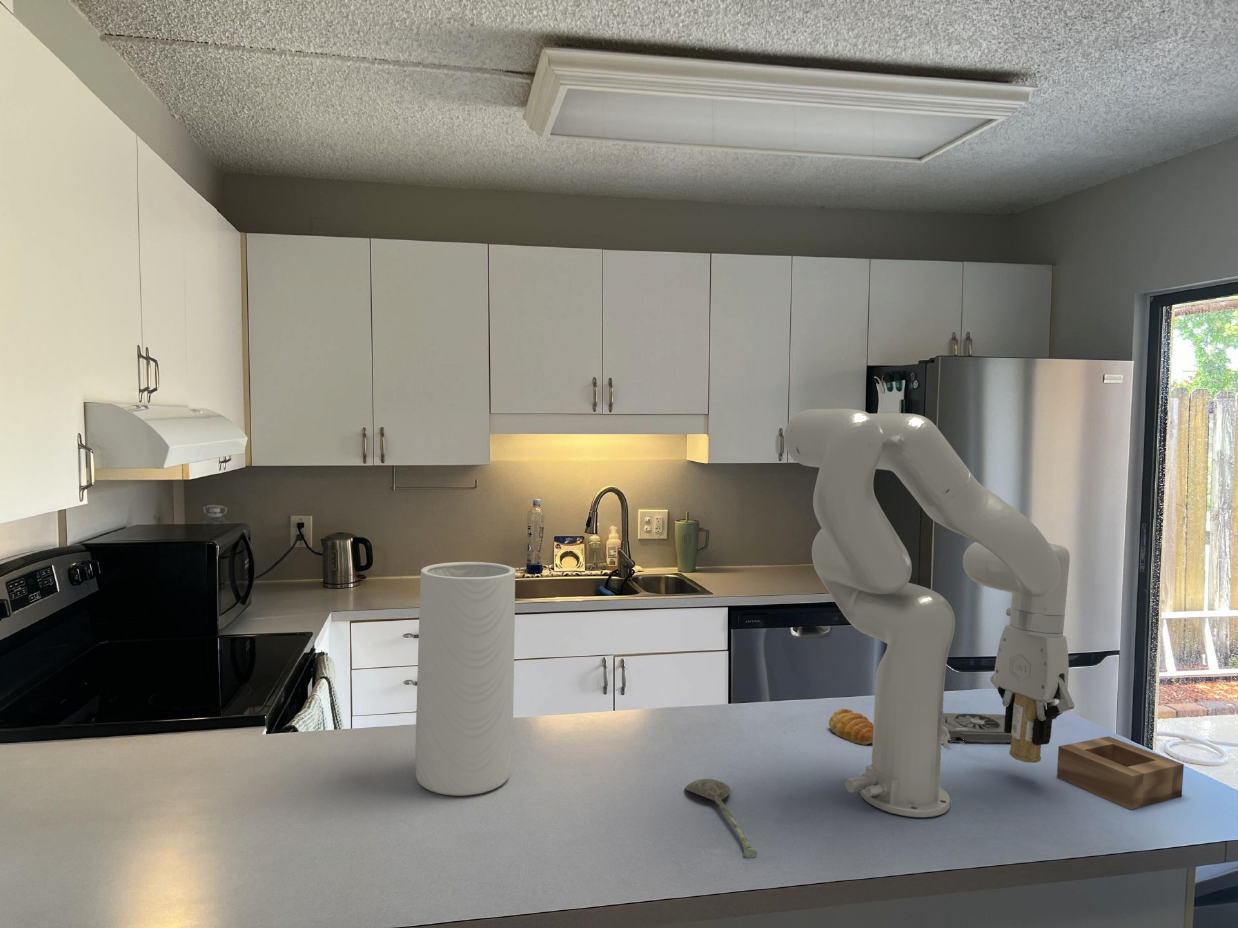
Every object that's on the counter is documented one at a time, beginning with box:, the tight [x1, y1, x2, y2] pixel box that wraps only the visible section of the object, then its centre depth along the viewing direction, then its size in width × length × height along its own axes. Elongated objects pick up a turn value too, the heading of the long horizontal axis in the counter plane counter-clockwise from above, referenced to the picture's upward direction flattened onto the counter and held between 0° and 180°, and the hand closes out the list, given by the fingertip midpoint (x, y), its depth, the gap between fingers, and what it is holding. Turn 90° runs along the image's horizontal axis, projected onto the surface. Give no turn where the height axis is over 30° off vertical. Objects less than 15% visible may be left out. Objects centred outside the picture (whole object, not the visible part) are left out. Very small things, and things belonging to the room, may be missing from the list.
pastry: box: [828, 708, 874, 746], centre depth 148 cm, size 9×7×4 cm
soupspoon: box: [684, 778, 758, 859], centre depth 116 cm, size 22×3×7 cm
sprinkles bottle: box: [1008, 693, 1042, 764], centre depth 131 cm, size 5×5×14 cm
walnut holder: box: [1056, 736, 1185, 811], centre depth 130 cm, size 12×12×5 cm
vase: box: [414, 561, 516, 797], centre depth 125 cm, size 14×14×32 cm
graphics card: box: [941, 712, 1012, 750], centre depth 150 cm, size 17×4×12 cm
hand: (1026, 736), depth 131 cm, fingers closed on sprinkles bottle, 4 cm apart
